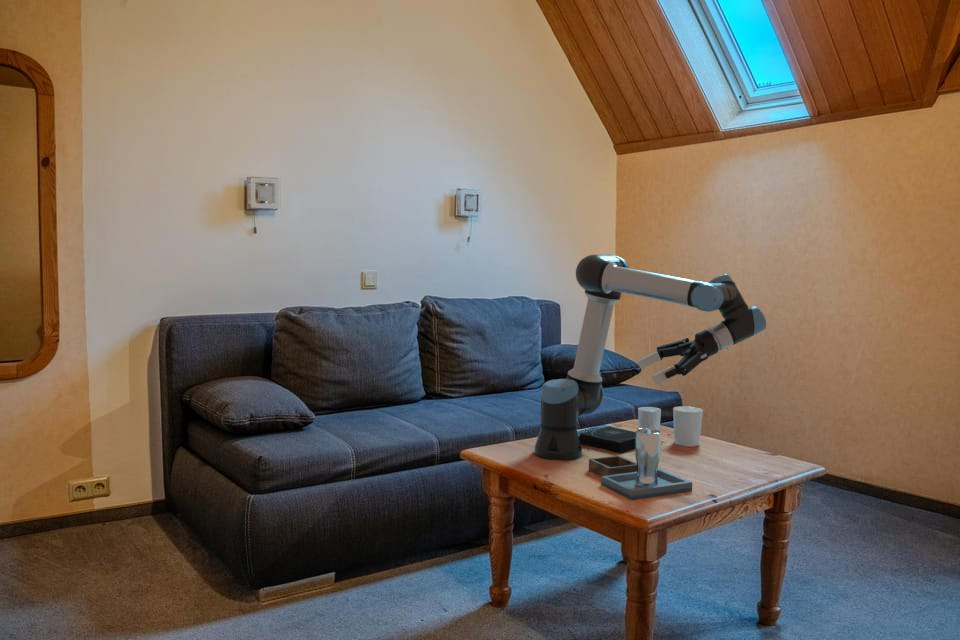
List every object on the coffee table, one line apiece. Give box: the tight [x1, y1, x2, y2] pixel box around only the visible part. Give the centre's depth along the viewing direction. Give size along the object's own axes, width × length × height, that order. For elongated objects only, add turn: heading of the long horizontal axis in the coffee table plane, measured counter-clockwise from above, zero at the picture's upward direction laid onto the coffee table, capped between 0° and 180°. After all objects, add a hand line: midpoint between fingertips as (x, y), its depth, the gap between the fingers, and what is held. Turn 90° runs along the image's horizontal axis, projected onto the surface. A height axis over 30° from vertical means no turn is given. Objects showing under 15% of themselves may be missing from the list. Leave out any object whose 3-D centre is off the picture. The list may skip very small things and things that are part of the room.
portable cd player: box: [578, 426, 636, 454], centre depth 252 cm, size 16×17×4 cm
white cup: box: [637, 406, 662, 431], centre depth 263 cm, size 8×8×10 cm
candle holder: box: [672, 405, 704, 448], centre depth 254 cm, size 10×10×12 cm
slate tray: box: [600, 468, 693, 501], centre depth 204 cm, size 14×20×2 cm
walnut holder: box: [588, 455, 637, 477], centre depth 218 cm, size 11×11×4 cm
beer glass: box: [634, 428, 662, 487], centre depth 203 cm, size 7×7×15 cm
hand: (646, 372), depth 215 cm, fingers open, 13 cm apart
